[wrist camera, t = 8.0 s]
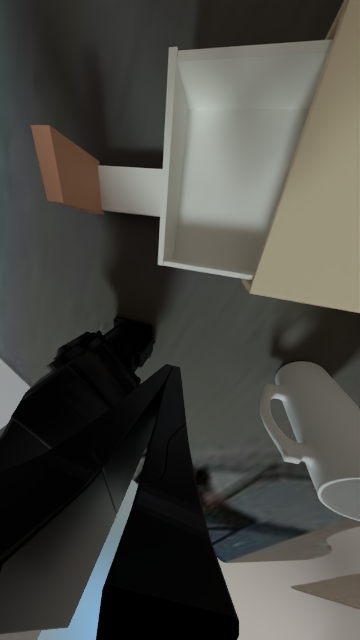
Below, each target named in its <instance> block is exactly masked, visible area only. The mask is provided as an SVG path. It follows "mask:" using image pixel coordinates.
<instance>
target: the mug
mask: <svg viewBox="0 0 360 640" xmlns="http://www.w3.org/2000/svg"><path fill="white" fill-rule="evenodd" d="M275 383H276V385H273V384H268V383H267V384H265V386H264V388H263V392H262V395H261V399H260V414H261V417H262V420H263V423H264V425H265V427H266V429H267V431H268V433H269V434H270V436H271V438H272V439H273V441H274V443H275V444H276V446H277V447H278V449H279V450H280V452H281V454H282V457H283V460H284V461H285V462H292V463H295V464H298V463H300V462H301V461H304V462H305V463H306V466H307V469H308V471H309V474H310V476H311V479H312V481H313V484H314V486H315V489H316V491H317V494H318V497H319V499H320V501H321V502H322V503H323V504H324V505H325V506H327V507H328V508H329V509H331V510H333V511H334V512H336V513H339V514H341V515H343V516H346V517H348V518H351V519H354V520H358V521H360V408H359V407H358V406H357V405H356V404H355V403H354V401H353V400H352V399H351V398H350V397H349V396H348V395H347V394H346V393H345V391H344V390H343V389H342V388H341V387H340V386H339V385H338V384H337V383H336V382H335V381H334V380H333V379H332V377H331V376H330V375H329V374H328V373H327V372H326V371H325V370H324V369H323V368H322V367H321V366H319V365H317V364H315V363H312V362H306V361H298V362H292V363H289V364H287V365H285V366H283V367H281V368H280V369H279V370H278V371H277V373H276V375H275ZM272 398H277V399H280V400H282V402H283V405H284V407H285V410H286V413H287V415H288V418H289V421H290V423H291V426H292V429H293V431H294V434H295V437H296V439H297V442H298V443H297V442H294V441H292V440H291V439H289V438H288V437H287V436H286V435H285V434H284V433H283V432H282V431H281V430H280V429H279V428H278V426H277V425H276V423H275V422H274V420H273V417H272V415H271V410H270V401H271V399H272Z"/></svg>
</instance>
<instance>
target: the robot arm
mask: <svg viewBox="0 0 360 640" xmlns="http://www.w3.org/2000/svg"><path fill="white" fill-rule="evenodd" d="M116 319H117V320H118V321H117V320H116ZM148 327H149V328H150V329H149V328H148ZM152 351H153V338H152V326H151V325H150V324H146V323H141V322H137V321H133V320H128V319H124V318H120V317H115V318H114V328H113V329H111V330H110V331H109V332H107V333H106V334H104V335H102V333H101V331H100V330H99V331H98V332H96V333H94V332H93V333H90V332H86V333H84V334H82V335H81V336H79V337H77V338H76V339H74V340H72V341H70V342H69V343H67V344H65V345H63V346H62V347H60V348H59V349H58V351H57V355H56V357H55V358H54V359H53V360H54V361H53V362H52V363H50V364H49V365H47V367H48V368H49V369H50V370H51V372H49V373H48V374H46V375H45V376H44V377H42V378H41V379H39V380H38V381H37V382H36V383H35V384H34V385H33V386H32V387H31V388H30V389H29V390H28V391H27V392H26V393H25V395H24V396H23V398H22V400H21V401H20V403H19V405H18V407H17V408H16V410H15V412H14V413H13V415H12V416H11V419H10V421H9V423H8V424H7V425H6V426H4V427H3V428H2V429H1V430H0V640H37V639H38V636H39V634H40V632H41V630H48V629H58V628H67V627H68V626H69V624H70V622H71V619H72V617H73V615H74V613H75V610H76V608H77V606H78V603H79V601H80V599H81V596H82V594H83V592H84V589H85V587H86V585H87V582H88V580H89V578H90V575H91V573H92V571H93V568H94V566H95V564H96V561H97V559H98V557H99V555H100V552H101V550H102V547H103V545H104V543H105V541H106V538H107V536H108V534H109V531H110V529H111V527H112V524H113V522H114V519H115V517H116V514H117V513H118V510H119V508H120V506H121V503H122V501H123V499H124V496H125V494H126V491H127V489H128V487H129V485H130V482H131V480H132V478H133V475H134V473H135V471H136V468H137V466H138V464H139V462H140V459H141V457H142V455H143V452H144V450H145V448H146V445H147V443H148V441H149V438H150V436H151V439H150V442H149V446H148V450H147V454H146V457H145V461H144V465H143V469H142V473H141V476H140V480H139V484H138V488H137V491H136V495H135V498H134V502H133V505H132V509H131V511H130V514H129V517H128V520H127V523H126V525H125V528H124V531H123V534H122V537H121V539H120V542H119V545H118V548H117V551H116V553H115V556H114V559H113V562H112V565H111V567H110V570H109V573H108V576H107V579H106V581H105V584H104V587H103V590H102V598H101V606H100V613H99V621H98V628H97V636H96V640H237V638H238V636H239V620H238V617H237V614H236V611H235V609H234V606H233V603H232V600H231V597H230V594H229V591H228V588H227V585H226V582H225V579H224V577H223V574H222V571H221V568H220V565H219V563H218V559H217V556H216V554H215V551H214V548H213V545H212V542H211V538H210V535H209V532H208V528H207V524H206V520H205V516H204V512H203V508H202V504H201V499H200V495H199V491H198V486H197V482H196V477H195V473H194V468H193V464H192V459H191V454H190V449H189V442H188V434H187V426H186V417H185V408H184V399H183V390H182V381H181V372H180V367H176V366H172V365H168V364H166V365H164V366H163V367H162V368H161V369H159V370H158V371H157V372H156V373H154V374H153V375H152V376H150V377H149V378H148V379H147V380H145V381H144V382H143V383H142V384H140V381H141V379H140V378H139V377H137V376H136V374H135V373H134V372H135V371H136V369H137V368H138V367H140V368H141V367H142V366H143V365H144V363H145V362H146V360H147V359H148V358H150V357H151V353H152ZM151 434H152V435H151Z"/></svg>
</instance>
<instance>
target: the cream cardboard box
mask: <svg viewBox="0 0 360 640" xmlns="http://www.w3.org/2000/svg"><path fill="white" fill-rule="evenodd" d="M331 39H333V42H332V45H331V48H330V51H329V54H328V57H327V60H326V63H325V66H324V69H323V72H322V75H321V78H320V81H319V84H318V87H317V90H316V93H315V96H314V98H313V101H312V104H311V107H310V110H309V113H308V116H307V119H306V122H305V125H304V128H303V131H302V134H301V137H300V140H299V143H298V146H297V149H296V152H295V155H294V158H293V161H292V164H291V167H290V170H289V173H288V176H287V178H286V181H285V184H284V187H283V190H282V193H281V196H280V199H279V202H278V205H277V208H276V211H275V214H274V217H273V220H272V223H271V226H270V229H269V232H268V235H267V238H266V241H265V244H264V247H263V250H262V253H261V256H260V259H259V261H258V264H257V267H256V270H255V273H254V276H253V279H252V280H248V279H242V278H241V281H242V283H243V284H244V286H245V287H246V289H247V291H248V292H249V293H250V294H256V295H261V296H267V297H273V298H278V299H284V300H289V301H295V302H301V303H306V304H312V305H317V306H323V307H329V308H334V309H340V310H345V311H351V312H357V313H360V0H344V2H343V4H342V6H341V8H340V10H339V12H338V14H337V16H336V18H335V20H334V22H333V24H332V26H331V28H330V30H329V32H328V34H327V36H326V38H325V40H331Z"/></svg>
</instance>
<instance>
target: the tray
mask: <svg viewBox="0 0 360 640" xmlns="http://www.w3.org/2000/svg"><path fill="white" fill-rule="evenodd" d="M332 42H333V39H331V40H318V41H304V42H290V43H276V44H263V45H249V46H235V47H221V48H207V49H194V50H180V51H178V48H177V47H169V58H168V77H167V96H166V116H165V135H164V154H163V169H152V168H135V167H118V166H100V162H99V161H98V160H97V159H95V158H94V157H93V156H91V155H90V154H88V153H87V152H86V151H84V150H83V149H82V148H80V147H79V146H77V145H76V144H75V143H73V142H72V141H70V140H69V139H68V138H66V137H65V136H63V135H62V134H61V133H59V132H58V131H57V130H55V129H54V128H52V127H51V126H50V125H31V128H32V133H33V137H34V142H35V146H36V151H37V155H38V160H39V164H40V169H41V173H42V177H43V182H44V186H45V191H46V195H47V200H48V201H49V202H53V203H57V204H60V205H64V206H68V207H71V208H75V209H79V210H82V211H86V212H90V213H95V214H104V210H105V211H112V212H121V213H130V214H139V215H148V216H157V217H160V231H159V251H158V265H161V266H169V267H175V268H182V269H188V270H194V271H200V272H206V273H212V274H218V275H224V276H230V277H236V278H242V279H248V280H252V279H253V276H254V273H255V270H256V267H257V264H258V261H259V259H260V256H261V253H262V250H263V247H264V244H265V241H266V238H267V235H268V232H269V229H270V226H271V223H272V220H273V217H274V214H275V211H276V208H277V205H278V202H279V199H280V196H281V193H282V190H283V187H284V184H285V181H286V178H287V176H288V173H289V170H290V167H291V164H292V161H293V158H294V155H295V152H296V149H297V146H298V143H299V140H300V137H301V134H302V131H303V128H304V125H305V122H306V119H307V116H308V113H309V110H310V107H311V104H312V101H313V98H314V96H315V93H316V90H317V87H318V84H319V81H320V78H321V75H322V72H323V69H324V66H325V63H326V60H327V57H328V54H329V51H330V48H331V45H332Z"/></svg>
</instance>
